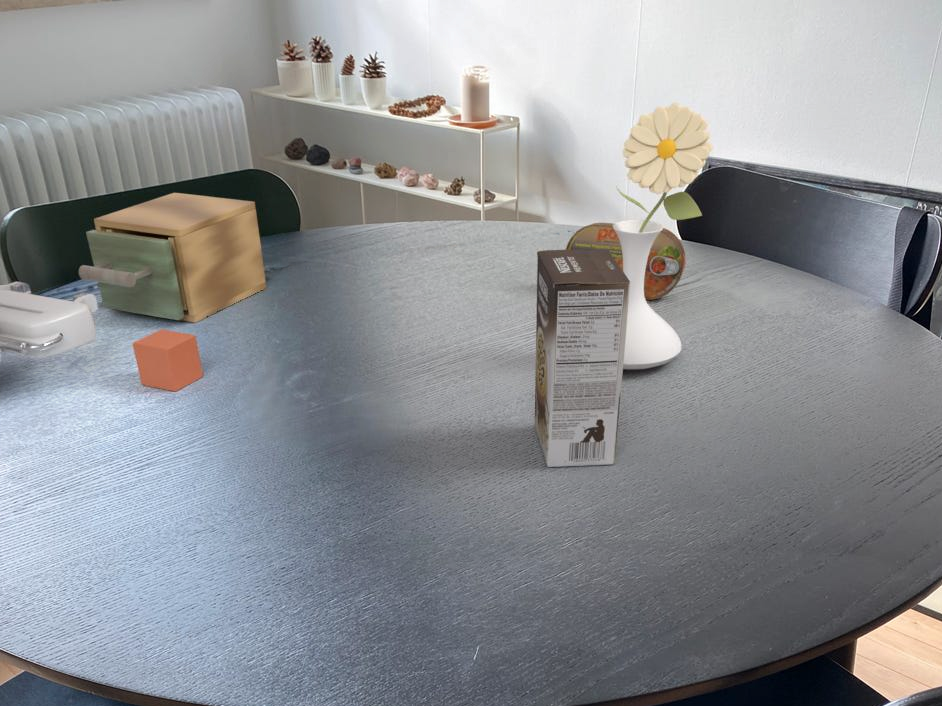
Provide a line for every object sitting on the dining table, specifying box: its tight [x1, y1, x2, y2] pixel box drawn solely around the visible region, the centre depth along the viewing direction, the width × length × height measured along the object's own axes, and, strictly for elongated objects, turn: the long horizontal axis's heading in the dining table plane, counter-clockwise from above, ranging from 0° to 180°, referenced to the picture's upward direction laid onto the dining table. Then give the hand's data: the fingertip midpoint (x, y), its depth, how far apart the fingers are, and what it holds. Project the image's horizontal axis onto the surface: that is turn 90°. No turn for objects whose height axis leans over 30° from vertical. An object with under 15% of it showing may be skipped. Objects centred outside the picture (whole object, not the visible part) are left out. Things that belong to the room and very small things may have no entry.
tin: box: [565, 222, 686, 301], centre depth 122 cm, size 15×3×8 cm, turn 68°
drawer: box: [78, 228, 188, 321], centre depth 118 cm, size 18×11×9 cm, turn 155°
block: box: [132, 328, 204, 393], centre depth 102 cm, size 4×4×4 cm
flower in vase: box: [613, 102, 713, 370], centre depth 99 cm, size 13×11×25 cm
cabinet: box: [93, 192, 267, 323], centre depth 122 cm, size 15×13×11 cm
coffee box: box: [534, 248, 630, 468], centre depth 85 cm, size 9×6×16 cm
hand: (58, 295), depth 106 cm, fingers open, 8 cm apart
